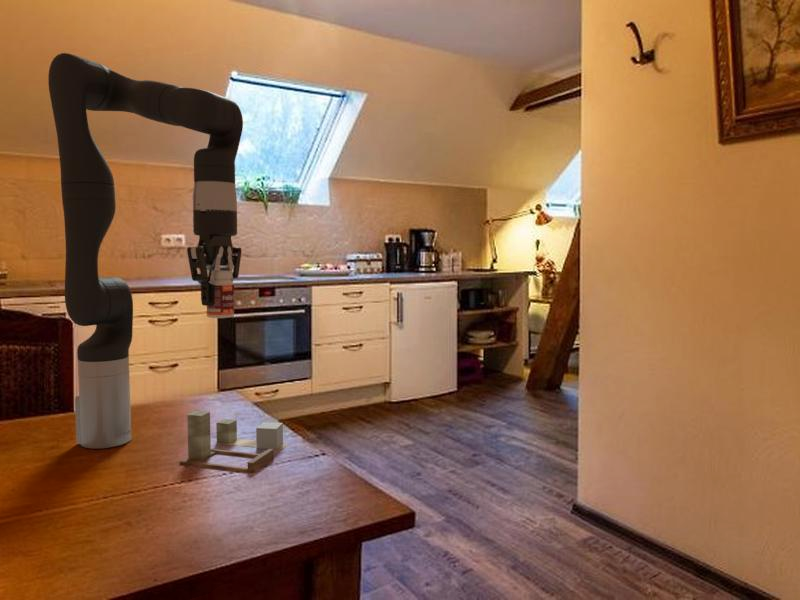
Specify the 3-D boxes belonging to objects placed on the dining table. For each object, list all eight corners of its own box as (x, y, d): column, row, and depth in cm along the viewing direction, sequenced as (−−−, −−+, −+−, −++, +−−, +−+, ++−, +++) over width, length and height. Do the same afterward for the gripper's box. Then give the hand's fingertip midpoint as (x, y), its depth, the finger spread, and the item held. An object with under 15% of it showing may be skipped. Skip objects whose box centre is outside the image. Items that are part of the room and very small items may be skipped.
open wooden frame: (179, 467, 107) (178, 418, 106) (204, 454, 114) (203, 407, 114) (252, 476, 103) (252, 425, 102) (273, 461, 110) (273, 413, 110)
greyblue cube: (256, 448, 116) (256, 428, 115) (263, 441, 120) (263, 422, 119) (276, 449, 115) (276, 428, 115) (283, 442, 119) (282, 422, 119)
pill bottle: (226, 318, 106) (226, 271, 106) (201, 317, 107) (201, 270, 106) (238, 315, 111) (238, 270, 110) (214, 315, 112) (214, 269, 111)
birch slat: (214, 447, 119) (213, 423, 118) (224, 442, 122) (223, 418, 122) (281, 455, 115) (280, 429, 114) (289, 449, 118) (289, 424, 118)
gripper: (219, 211, 116) (220, 300, 117) (171, 206, 102) (173, 306, 103) (254, 211, 113) (255, 301, 115) (210, 206, 100) (212, 308, 101)
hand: (216, 303), depth 109 cm, fingers closed on pill bottle, 4 cm apart
